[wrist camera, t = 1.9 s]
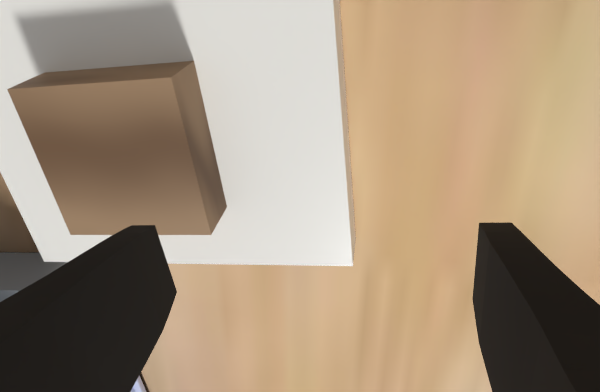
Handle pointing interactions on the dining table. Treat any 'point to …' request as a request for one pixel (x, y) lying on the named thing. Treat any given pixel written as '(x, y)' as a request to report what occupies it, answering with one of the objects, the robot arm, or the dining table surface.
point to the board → (220, 114)
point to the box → (22, 271)
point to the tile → (125, 147)
